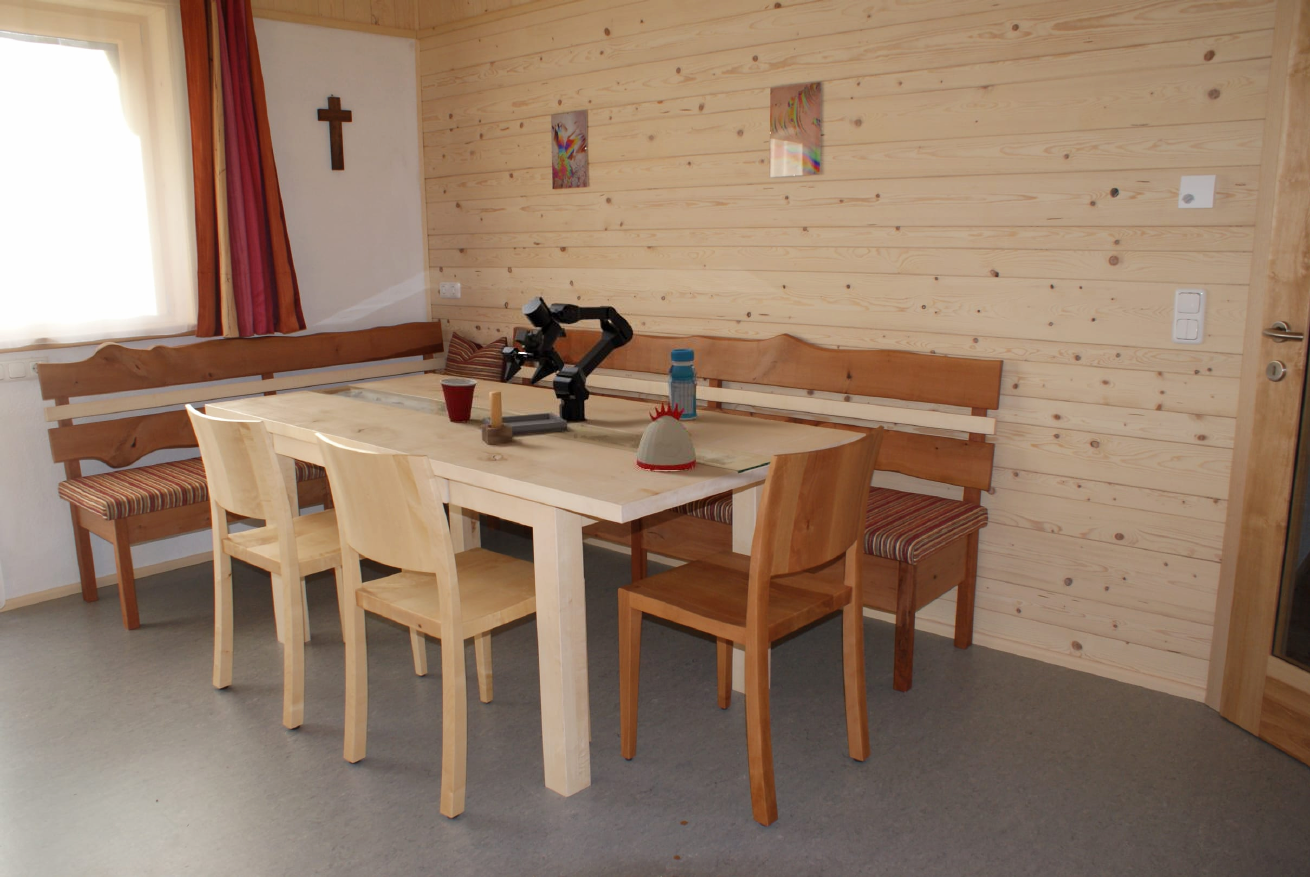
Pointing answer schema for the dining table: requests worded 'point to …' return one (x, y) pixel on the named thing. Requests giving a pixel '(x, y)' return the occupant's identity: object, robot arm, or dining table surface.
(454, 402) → the plastic cup
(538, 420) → the charcoal tray
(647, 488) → the dining table surface
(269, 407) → the dining table surface
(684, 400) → the beverage bottle
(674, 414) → the chicken hat
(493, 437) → the walnut socket block
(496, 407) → the tan dowel pin
